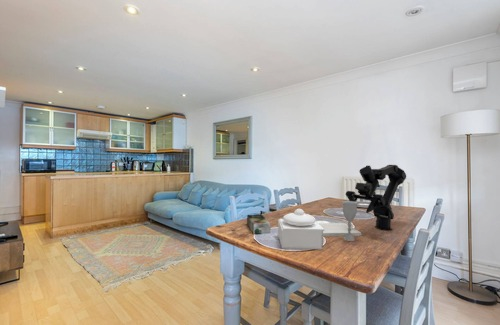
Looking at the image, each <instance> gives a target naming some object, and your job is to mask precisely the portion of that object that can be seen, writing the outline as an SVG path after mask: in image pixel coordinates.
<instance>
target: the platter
mask: <svg viewBox="0 0 500 325" xmlns="http://www.w3.org/2000/svg"><path fill="white" fill-rule="evenodd" d="M318 223H319V222H318ZM319 225H320V226H321V227H322V228H323V229H324V231H323V237H345V235H346V234H348V224H346V223H344V222H338V223H337V222H335V223H331V222H330V223H328V222H327V223H321V222H320V223H319ZM350 228H351V231H350V232H351V234H352V235H353V237H355V236H356V237H358V236H362V232H360V231H359V230H357V229H356V228H354V227H352V226H351V227H350Z"/></svg>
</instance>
